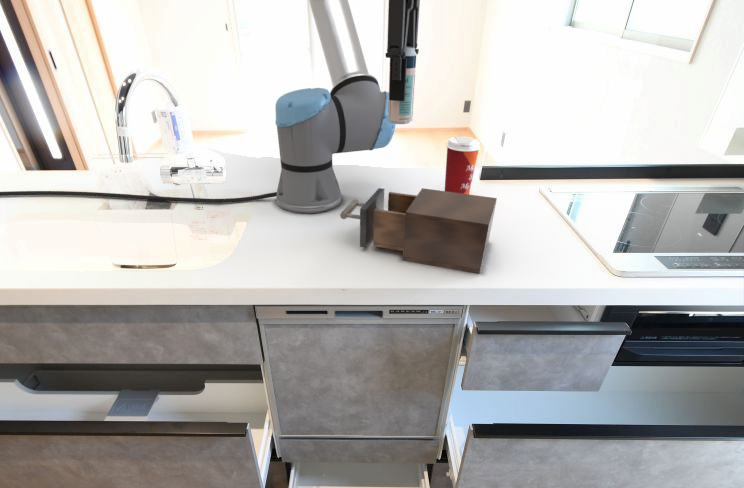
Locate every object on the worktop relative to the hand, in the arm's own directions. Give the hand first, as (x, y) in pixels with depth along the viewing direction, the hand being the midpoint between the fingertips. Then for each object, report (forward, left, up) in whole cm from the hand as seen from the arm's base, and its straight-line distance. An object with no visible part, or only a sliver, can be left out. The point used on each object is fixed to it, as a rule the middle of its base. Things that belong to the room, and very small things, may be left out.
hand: (400, 97), depth 82 cm
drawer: (+2, -9, -24) cm, 26 cm away
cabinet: (+13, -9, -25) cm, 30 cm away
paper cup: (+10, +18, -25) cm, 33 cm away
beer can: (0, 0, -4) cm, 4 cm away
